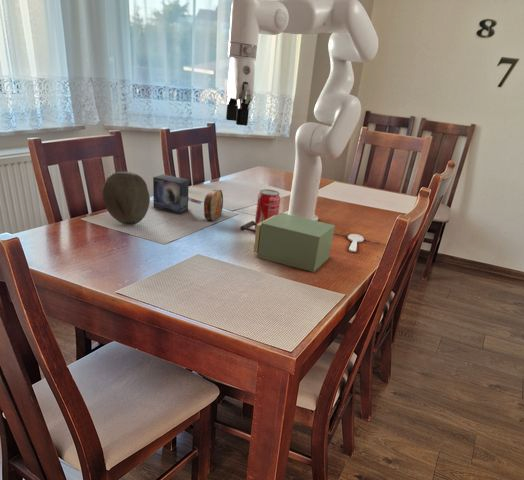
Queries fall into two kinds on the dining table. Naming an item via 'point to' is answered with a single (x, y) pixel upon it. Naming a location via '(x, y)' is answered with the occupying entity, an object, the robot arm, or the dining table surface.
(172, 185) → the small box
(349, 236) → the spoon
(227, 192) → the dining table surface
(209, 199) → the tin
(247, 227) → the drawer
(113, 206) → the cantaloupe
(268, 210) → the soda can
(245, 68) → the robot arm
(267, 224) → the cabinet
